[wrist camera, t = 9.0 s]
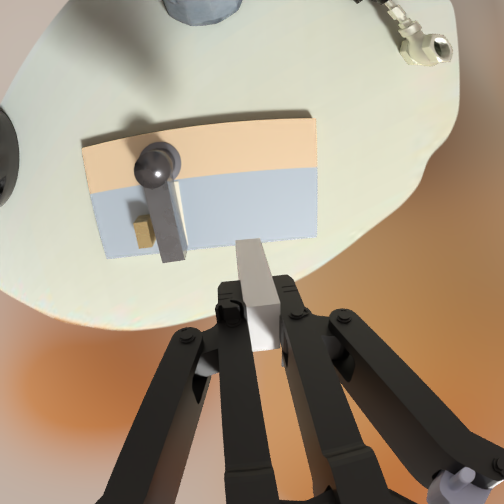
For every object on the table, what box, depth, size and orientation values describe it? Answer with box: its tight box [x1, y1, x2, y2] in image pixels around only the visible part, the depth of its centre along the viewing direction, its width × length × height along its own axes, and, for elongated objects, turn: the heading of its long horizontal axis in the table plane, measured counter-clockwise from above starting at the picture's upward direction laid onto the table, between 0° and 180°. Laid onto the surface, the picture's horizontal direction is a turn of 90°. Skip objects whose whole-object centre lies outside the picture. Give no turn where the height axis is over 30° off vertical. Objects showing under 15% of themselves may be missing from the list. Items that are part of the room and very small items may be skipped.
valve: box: [354, 0, 453, 67], centre depth 22 cm, size 7×7×12 cm
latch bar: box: [134, 148, 188, 263], centre depth 30 cm, size 12×4×4 cm, turn 7°
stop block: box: [133, 214, 156, 249], centre depth 32 cm, size 2×3×2 cm, turn 4°
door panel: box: [82, 118, 317, 259], centre depth 32 cm, size 26×14×1 cm, turn 94°
